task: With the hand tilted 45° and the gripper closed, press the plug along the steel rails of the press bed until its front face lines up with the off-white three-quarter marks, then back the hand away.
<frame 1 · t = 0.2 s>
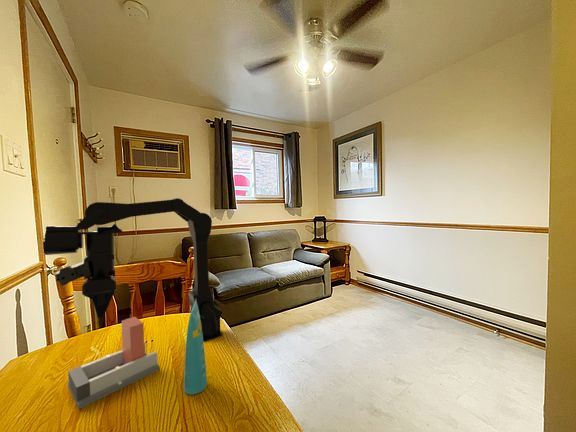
hand: (101, 311, 64), 15 cm above the table, tool pointing down, fingers open, 9 cm apart
plug: (133, 342, 63), point 7 cm above the table, slide at 0.0 cm
tube: (196, 387, 57), on the table
press bed: (115, 377, 60), on the table
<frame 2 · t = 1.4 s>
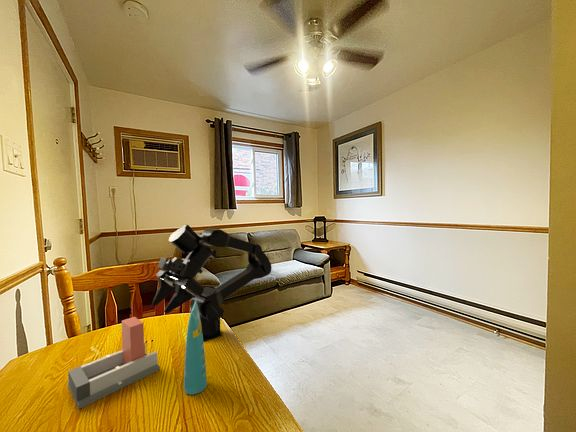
hand: (158, 309, 68), 13 cm above the table, tool tilted 45°, fingers open, 8 cm apart
nothing on the table moved.
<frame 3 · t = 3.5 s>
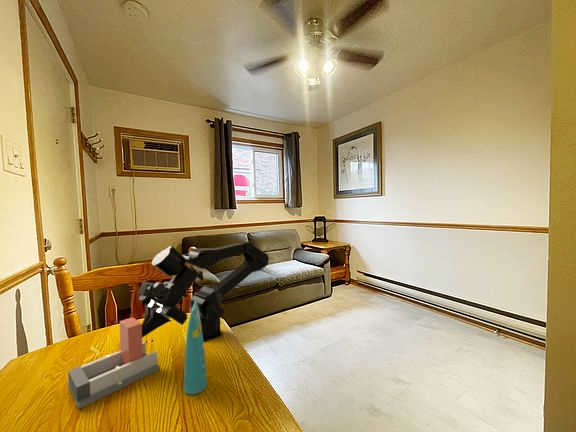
hand: (138, 337, 64), 8 cm above the table, tool tilted 45°, fingers closed, pressing on plug
plug: (131, 343, 63), point 7 cm above the table, slide at 0.4 cm, touching gripper
everything else where it was.
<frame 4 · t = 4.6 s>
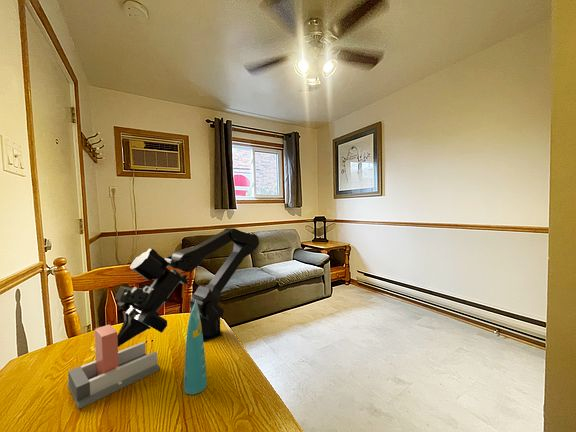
hand: (115, 346, 60), 8 cm above the table, tool tilted 45°, fingers closed, pressing on plug
plug: (106, 353, 59), point 7 cm above the table, slide at 5.6 cm, touching gripper
everything else where it was.
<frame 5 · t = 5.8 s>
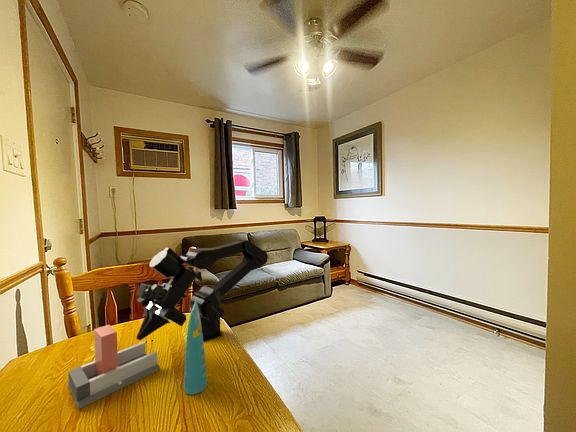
hand: (138, 339, 64), 7 cm above the table, tool tilted 45°, fingers closed
plug: (106, 353, 59), point 7 cm above the table, slide at 5.7 cm
everything else where it was.
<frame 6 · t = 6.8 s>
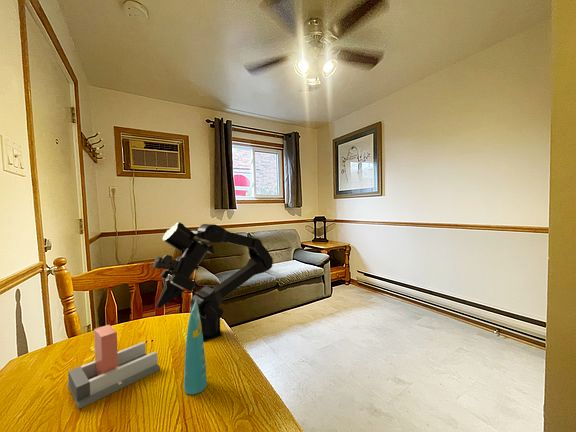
hand: (158, 307, 69), 14 cm above the table, tool tilted 40°, fingers closed
nothing on the table moved.
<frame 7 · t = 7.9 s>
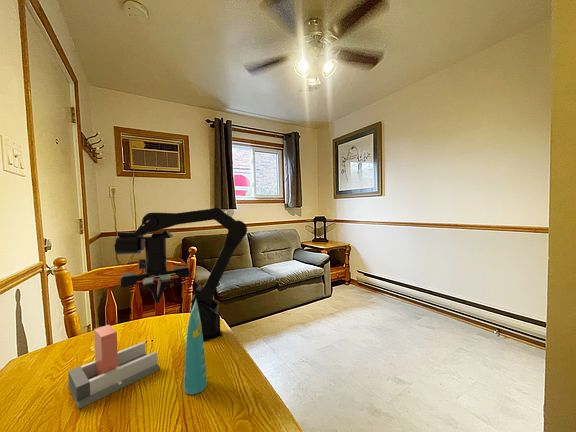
hand: (157, 302, 77), 12 cm above the table, tool pointing down, fingers closed
nothing on the table moved.
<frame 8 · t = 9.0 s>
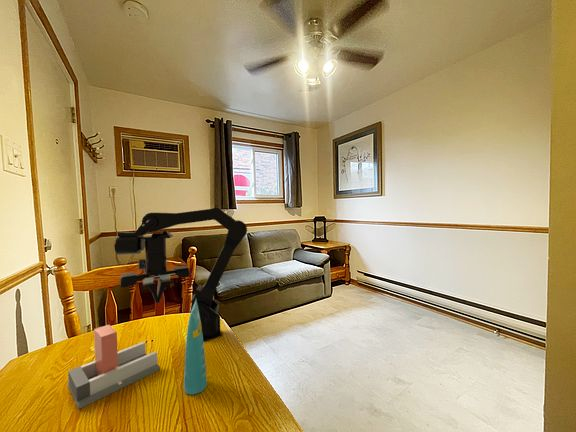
hand: (157, 302, 77), 12 cm above the table, tool pointing down, fingers closed
nothing on the table moved.
at the end: plug slide at 5.7 cm; tube moved 0.2 cm from its start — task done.
